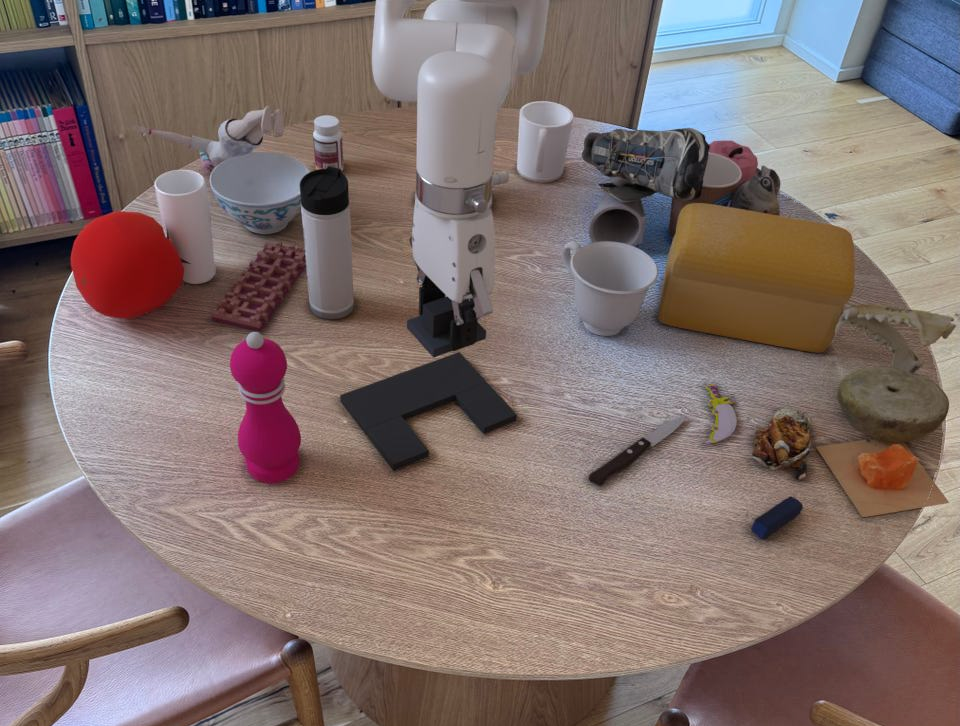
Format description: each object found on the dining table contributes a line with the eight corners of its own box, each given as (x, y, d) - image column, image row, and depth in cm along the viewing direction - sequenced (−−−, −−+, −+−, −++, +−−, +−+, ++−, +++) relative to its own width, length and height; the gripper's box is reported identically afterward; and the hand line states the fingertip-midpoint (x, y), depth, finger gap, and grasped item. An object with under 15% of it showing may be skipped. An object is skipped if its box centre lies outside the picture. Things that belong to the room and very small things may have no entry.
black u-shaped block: (459, 358, 128) (459, 351, 127) (516, 421, 120) (517, 414, 119) (340, 401, 121) (339, 394, 120) (393, 471, 113) (393, 464, 112)
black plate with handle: (458, 310, 110) (460, 280, 107) (486, 339, 107) (488, 309, 104) (406, 328, 107) (406, 298, 104) (433, 358, 104) (434, 328, 101)
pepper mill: (245, 443, 115) (222, 312, 100) (304, 442, 115) (290, 312, 100) (240, 487, 110) (214, 356, 95) (302, 486, 111) (287, 356, 96)
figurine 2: (701, 198, 139) (754, 148, 137) (725, 239, 156) (772, 195, 154) (739, 237, 136) (794, 186, 134) (759, 274, 154) (808, 230, 151)
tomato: (120, 337, 121) (212, 304, 129) (84, 231, 115) (183, 203, 122) (71, 319, 132) (159, 290, 139) (36, 221, 125) (130, 196, 133)
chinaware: (274, 261, 140) (269, 215, 134) (196, 228, 144) (188, 183, 138) (334, 216, 149) (331, 171, 143) (258, 186, 153) (253, 142, 148)
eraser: (805, 504, 111) (768, 529, 108) (799, 516, 112) (762, 542, 109) (791, 493, 112) (754, 518, 109) (785, 505, 113) (748, 530, 110)
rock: (815, 447, 121) (826, 424, 117) (898, 435, 123) (911, 411, 120) (861, 517, 113) (875, 494, 110) (949, 503, 115) (965, 479, 112)
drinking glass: (210, 292, 134) (193, 198, 123) (165, 284, 135) (144, 190, 124) (228, 265, 139) (213, 173, 127) (185, 258, 139) (166, 165, 128)
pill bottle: (326, 158, 161) (323, 111, 155) (349, 166, 160) (347, 119, 153) (309, 169, 158) (305, 122, 152) (332, 178, 157) (329, 130, 151)
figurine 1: (364, 161, 138) (289, 201, 164) (368, 122, 138) (292, 168, 163) (168, 108, 123) (118, 161, 148) (171, 63, 123) (121, 124, 148)
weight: (829, 360, 126) (820, 391, 130) (859, 418, 116) (848, 450, 119) (929, 361, 126) (918, 392, 130) (968, 419, 116) (955, 451, 119)
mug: (517, 154, 166) (522, 98, 158) (567, 161, 165) (575, 104, 158) (509, 186, 159) (515, 129, 151) (562, 193, 158) (570, 136, 150)
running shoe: (707, 222, 133) (631, 212, 129) (625, 199, 157) (559, 190, 154) (728, 132, 129) (650, 119, 125) (640, 122, 153) (573, 111, 149)
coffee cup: (694, 262, 147) (713, 193, 138) (645, 232, 151) (660, 163, 143) (734, 240, 152) (755, 172, 143) (686, 211, 156) (703, 144, 148)
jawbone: (916, 362, 133) (909, 403, 129) (825, 330, 135) (815, 369, 130) (962, 302, 123) (955, 344, 119) (862, 268, 125) (853, 308, 120)
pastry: (811, 419, 124) (820, 399, 121) (805, 482, 116) (815, 462, 114) (758, 406, 125) (766, 386, 122) (749, 468, 117) (757, 448, 115)
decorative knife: (743, 443, 119) (704, 441, 119) (742, 446, 120) (703, 444, 119) (730, 384, 127) (693, 382, 127) (729, 387, 127) (692, 385, 127)
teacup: (584, 279, 142) (594, 221, 135) (661, 327, 135) (676, 269, 128) (529, 311, 136) (537, 252, 128) (607, 362, 129) (620, 303, 122)
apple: (754, 194, 162) (771, 140, 154) (736, 216, 157) (752, 161, 149) (703, 176, 165) (718, 122, 158) (683, 197, 160) (697, 142, 152)
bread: (655, 324, 135) (678, 235, 124) (663, 274, 144) (685, 186, 133) (826, 356, 133) (865, 267, 122) (823, 303, 141) (859, 215, 130)
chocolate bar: (313, 257, 141) (312, 245, 140) (260, 331, 129) (258, 320, 127) (268, 246, 142) (267, 235, 141) (211, 320, 130) (209, 308, 128)
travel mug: (362, 298, 135) (357, 171, 121) (342, 324, 131) (335, 196, 116) (322, 287, 136) (313, 161, 122) (302, 313, 132) (289, 185, 117)
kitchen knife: (600, 483, 112) (588, 474, 113) (599, 489, 113) (587, 479, 114) (692, 416, 122) (679, 408, 123) (690, 421, 122) (678, 413, 123)
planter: (583, 140, 161) (591, 203, 142) (633, 143, 162) (648, 207, 142) (577, 183, 167) (585, 251, 147) (626, 186, 167) (640, 254, 147)
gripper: (533, 219, 90) (516, 363, 104) (441, 139, 100) (436, 280, 113) (467, 239, 87) (458, 384, 101) (379, 155, 97) (381, 298, 110)
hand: (447, 328), depth 107 cm, fingers closed on black plate with handle, 6 cm apart
